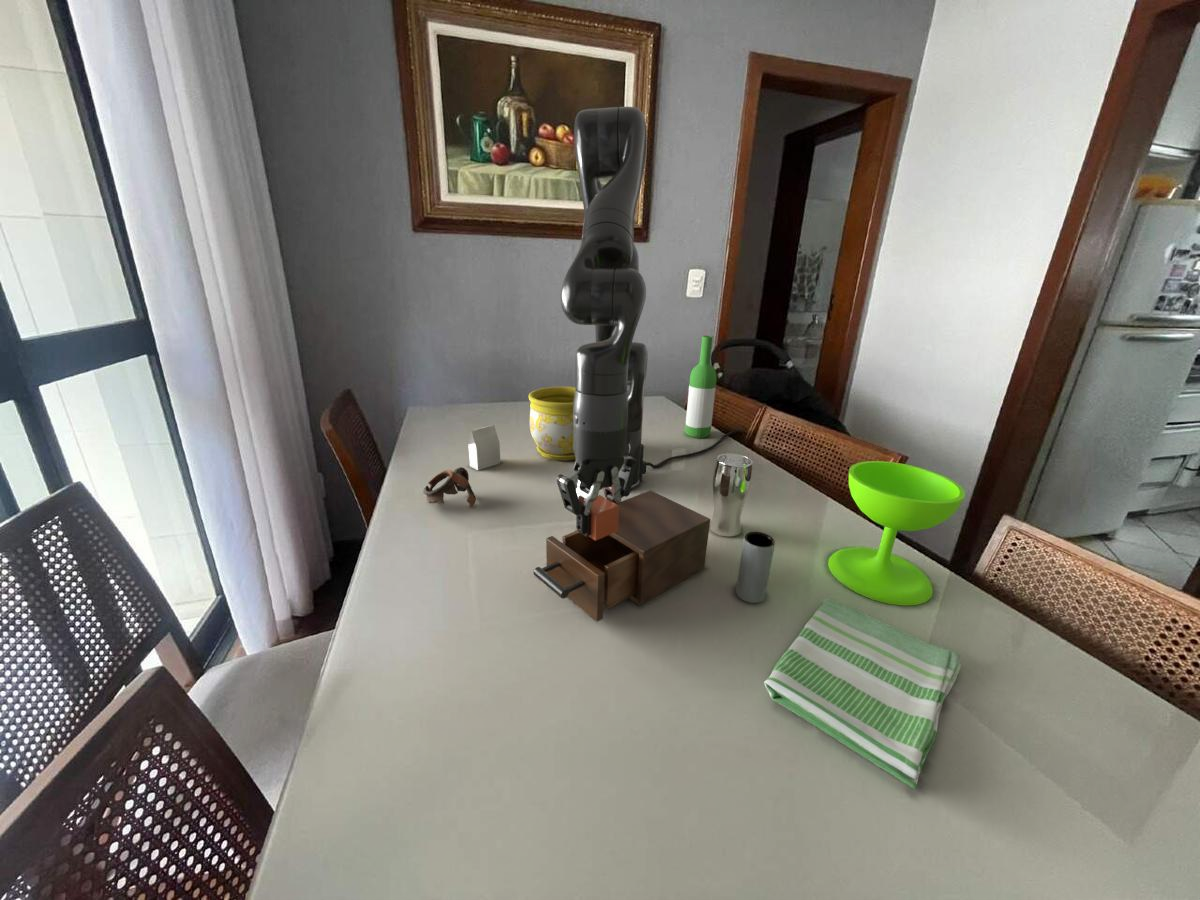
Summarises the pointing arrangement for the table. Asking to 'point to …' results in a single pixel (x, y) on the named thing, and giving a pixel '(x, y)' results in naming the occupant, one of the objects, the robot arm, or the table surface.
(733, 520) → the beer glass
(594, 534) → the block
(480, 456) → the white milk carton
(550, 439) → the flowerpot
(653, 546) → the cabinet
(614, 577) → the drawer
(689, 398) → the wine bottle
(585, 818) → the table surface
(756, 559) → the grey cylinder
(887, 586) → the wineglass
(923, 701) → the dish towel
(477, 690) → the table surface
